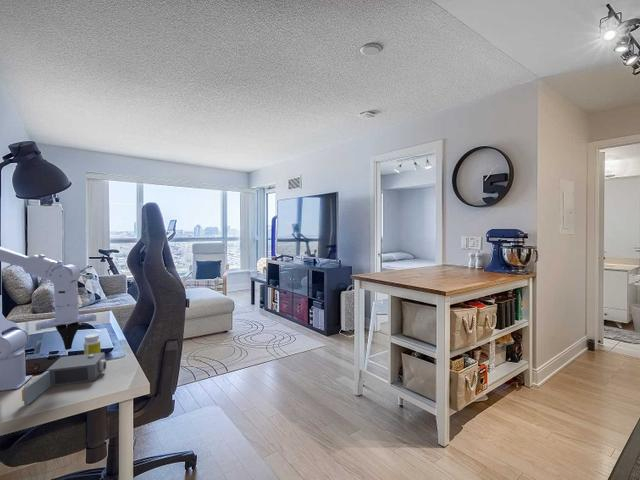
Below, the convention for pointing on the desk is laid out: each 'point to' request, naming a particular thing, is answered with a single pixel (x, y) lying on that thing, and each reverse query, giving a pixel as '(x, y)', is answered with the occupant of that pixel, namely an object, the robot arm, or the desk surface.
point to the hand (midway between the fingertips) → (68, 348)
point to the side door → (36, 387)
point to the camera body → (77, 369)
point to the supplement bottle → (92, 344)
